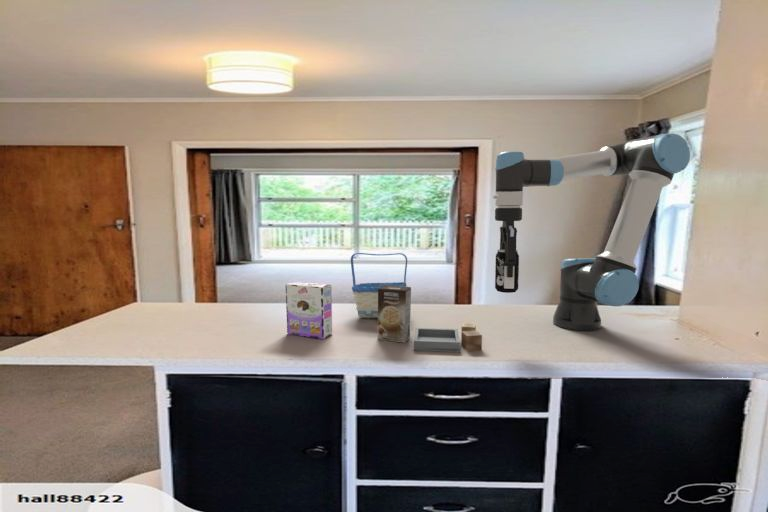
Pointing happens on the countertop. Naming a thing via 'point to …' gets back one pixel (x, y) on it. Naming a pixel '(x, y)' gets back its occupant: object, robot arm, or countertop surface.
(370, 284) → the basket
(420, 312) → the countertop surface
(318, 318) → the candy box
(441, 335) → the tray
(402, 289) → the coffee box
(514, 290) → the beverage can
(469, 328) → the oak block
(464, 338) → the walnut block
